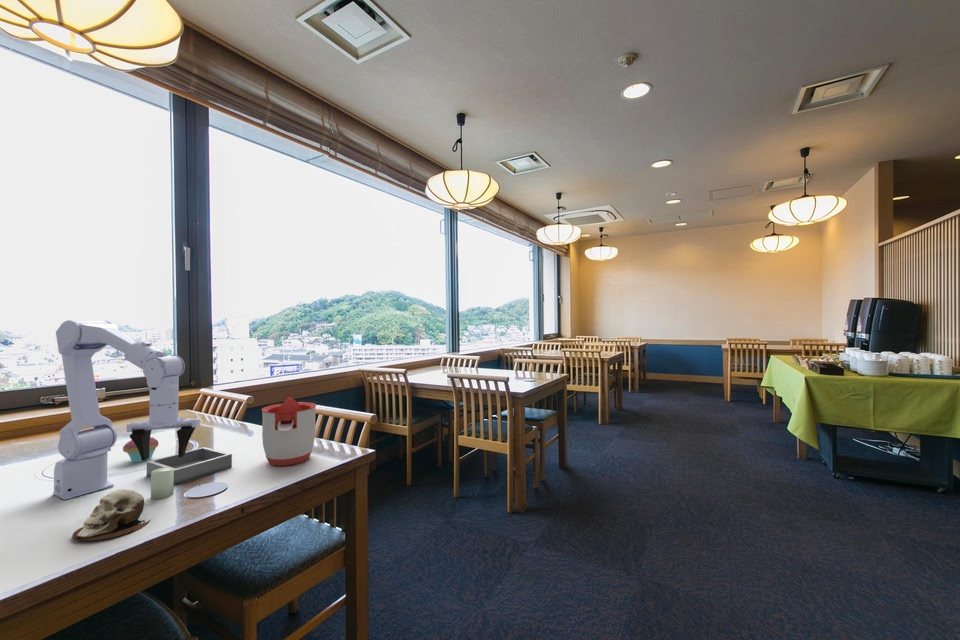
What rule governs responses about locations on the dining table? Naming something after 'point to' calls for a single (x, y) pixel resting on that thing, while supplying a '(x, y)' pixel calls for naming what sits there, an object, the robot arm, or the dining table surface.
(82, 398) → the robot arm
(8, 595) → the dining table surface
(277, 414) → the citrus juicer
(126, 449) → the cupcake
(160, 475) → the white pillar candle
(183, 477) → the bin
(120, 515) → the skull
